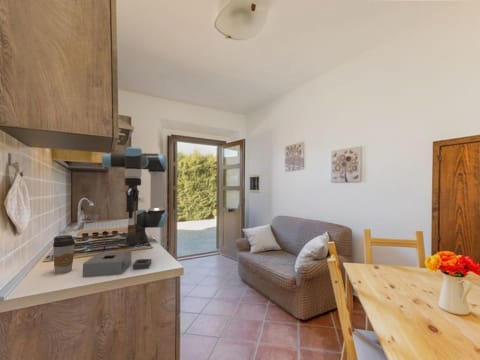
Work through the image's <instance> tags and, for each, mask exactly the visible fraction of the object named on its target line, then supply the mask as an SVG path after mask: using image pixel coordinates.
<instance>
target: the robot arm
mask: <svg viewBox="0 0 480 360" xmlns="http://www.w3.org/2000/svg"><path fill="white" fill-rule="evenodd" d="M142 151H143V150H142V148H140V147H137V146H128V147H127V146H126V148H125V153H104V154H103V155H102V157H101V163H102V166H103V167H104V168H111V169H112V168H113V169H114V168H116V169H117V168H121V169H123V168H124V171H123V174H124V177H125V178H124V186H128V187H127V188H128V189H127V190H126V191H125V195H126V196H125V197H126V211H125V212H126V213H127V227H128V226H129V225H134V201H136V228H135V235H134V236H128V232H127V234H126V236H125V239H124V244H125V245H127V244H138V243H144V242H146V243H148V242H147V241H149V238H148V235H147V231H146V229H148V228H150V229H152V228H154V229H155V228H164V227H165V226H166V224H167V219H168V211H167V210H166V208H165V207H164V202H163V201H164V174H165V173H166V171H167V170H168V159H167V156H166V155H165V153H164V154H163V153H143V152H142ZM142 170H147V171H148V173H149V174H150V197H149V198H150V199H149V200H150V203H149V204H150V208H147V210H146V209H139V193H140V190H139V188H138V186H141V185H142V179H141V178H142ZM144 244H145V243H144ZM138 245H139V244H138Z"/></svg>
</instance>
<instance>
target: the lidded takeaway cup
mask: <svg viewBox="0 0 480 360" xmlns="http://www.w3.org/2000/svg"><path fill="white" fill-rule="evenodd" d="M64 238H73V234H72V235H71V234H68V235H67V234H65V235H57V236H55V237H53V242H54V241H55V240H58V239H64ZM52 250H53V251H52V260H53V261H54V249H52Z"/></svg>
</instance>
